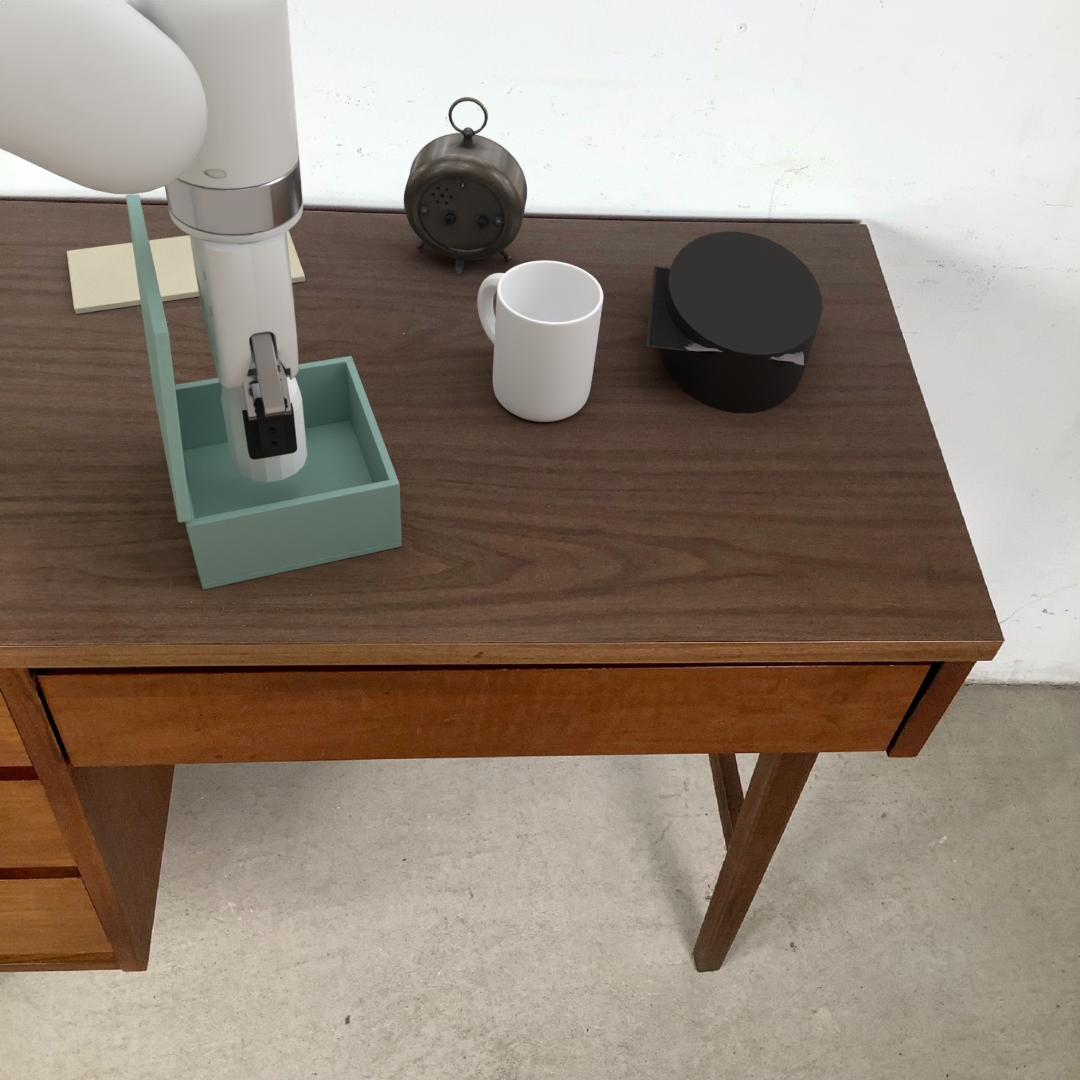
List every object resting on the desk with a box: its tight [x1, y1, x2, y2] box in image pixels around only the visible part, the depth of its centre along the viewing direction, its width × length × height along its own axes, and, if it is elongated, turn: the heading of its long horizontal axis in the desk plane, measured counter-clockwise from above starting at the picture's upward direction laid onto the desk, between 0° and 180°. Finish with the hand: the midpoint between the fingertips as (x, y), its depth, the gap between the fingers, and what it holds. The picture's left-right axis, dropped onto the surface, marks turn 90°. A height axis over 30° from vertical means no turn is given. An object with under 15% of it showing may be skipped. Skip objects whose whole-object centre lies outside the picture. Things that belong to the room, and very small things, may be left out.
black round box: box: [645, 230, 823, 414], centre depth 94 cm, size 14×18×8 cm
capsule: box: [221, 363, 307, 482], centre depth 73 cm, size 5×5×8 cm
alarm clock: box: [403, 96, 528, 275], centre depth 96 cm, size 11×5×16 cm, turn 84°
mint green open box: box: [175, 355, 403, 590], centre depth 78 cm, size 14×14×7 cm
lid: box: [125, 194, 191, 523], centre depth 67 cm, size 15×14×1 cm
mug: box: [476, 260, 604, 423], centre depth 87 cm, size 12×8×10 cm
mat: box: [66, 229, 306, 315], centre depth 98 cm, size 20×9×1 cm, turn 110°
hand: (264, 422), depth 74 cm, fingers closed on capsule, 5 cm apart
